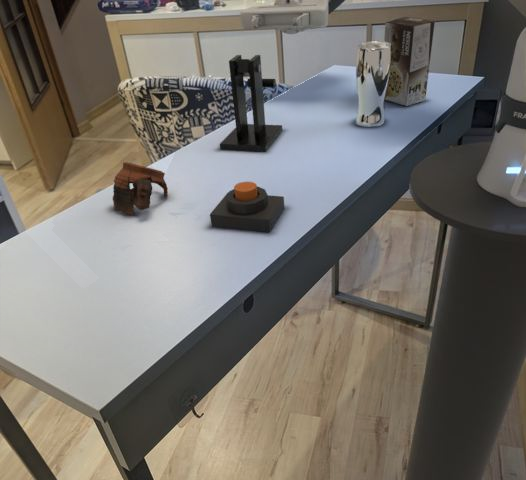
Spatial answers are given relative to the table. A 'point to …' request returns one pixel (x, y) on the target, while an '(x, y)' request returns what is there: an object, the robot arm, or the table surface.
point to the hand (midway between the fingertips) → (275, 23)
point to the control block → (248, 212)
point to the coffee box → (409, 59)
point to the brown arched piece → (135, 187)
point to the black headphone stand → (244, 133)
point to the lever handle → (244, 72)
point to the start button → (245, 191)
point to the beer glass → (372, 81)
